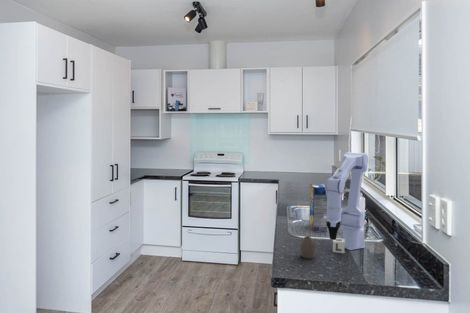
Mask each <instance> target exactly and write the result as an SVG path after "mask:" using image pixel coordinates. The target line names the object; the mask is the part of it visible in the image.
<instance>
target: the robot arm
mask: <svg viewBox="0 0 470 313" xmlns="http://www.w3.org/2000/svg"><path fill="white" fill-rule="evenodd" d="M342 161H343V163H342V165H341V167H339V168H337V169H336V170H335V172H334V173H333V174H332V176H331V177H330V178H329V177H328V179H326V180H325V183H324V185H325V190H326V196H327V216H324V219H326V220H327V222H326V225H327V231H328V232H329V233H328V234H329V239H330V240H331V241H333V240H336V238H337V235H338V231H339V228H340V227H341V228H342V239H345V249H347V250H349V251H352V250H358V249H364V248H366V246H365V229H364V230H363V229H362V227H363V224H364V225H365V216H364V213H363V212H362V211H361V210H360V209H359V208H358V206H359V198H360V193H361V190H362V182H363V175H364V173H365V172H367V170H368V165H369V156H368V154H367V153H366V152H348V151H346V152H345V153H344V154H343V157H342ZM350 173H351V177H350ZM349 177H350V184H349V190H348V199H347V206H345V207H344V208H342V197H343V194H342V193H343V192H344V190H345V186H346V182H347V180H348V179H349ZM349 212H350V213H356V214H358V215H355V214H349Z"/></svg>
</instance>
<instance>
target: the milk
mask: <svg viewBox="0 0 470 313" xmlns="http://www.w3.org/2000/svg"><path fill="white" fill-rule="evenodd" d="M358 208H359V209H360V210H361V211H362V212H363V213H364V217H365V215H366V211H365V210H366V198H365V197H364V196H363V192H360V198H359V206H358ZM349 214H355V215H358V214H356V213H350V212H349ZM362 229H363V230H364V231H365V223H364V224H363V227H362Z"/></svg>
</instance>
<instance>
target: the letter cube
mask: <svg viewBox="0 0 470 313" xmlns="http://www.w3.org/2000/svg"><path fill="white" fill-rule="evenodd" d="M345 249H346V248H345V239H343V238H337V237H336V240H332V253H337V254H345Z"/></svg>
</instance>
